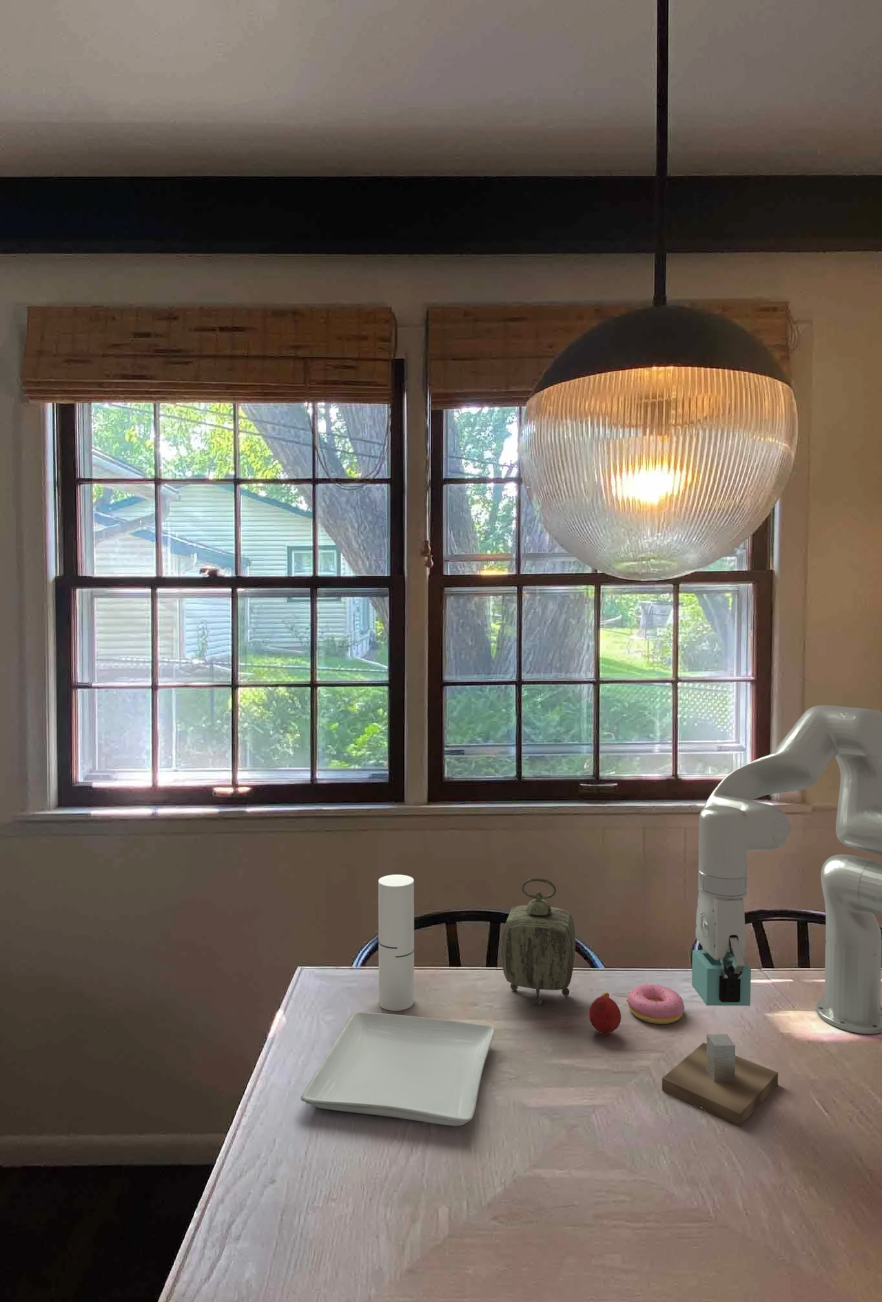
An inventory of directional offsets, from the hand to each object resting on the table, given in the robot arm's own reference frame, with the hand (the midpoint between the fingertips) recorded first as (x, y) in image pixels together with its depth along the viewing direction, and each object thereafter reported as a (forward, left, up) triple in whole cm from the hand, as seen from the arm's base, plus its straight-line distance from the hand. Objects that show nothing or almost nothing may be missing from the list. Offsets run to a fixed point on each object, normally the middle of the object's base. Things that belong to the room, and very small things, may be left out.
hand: (720, 989), depth 125 cm
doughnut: (-15, -20, -17) cm, 30 cm away
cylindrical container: (+18, -59, -17) cm, 64 cm away
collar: (0, 0, -1) cm, 1 cm away
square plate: (+34, -39, -17) cm, 55 cm away
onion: (-1, -22, -17) cm, 28 cm away
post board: (0, 0, -17) cm, 17 cm away
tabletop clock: (-3, -39, -17) cm, 43 cm away
